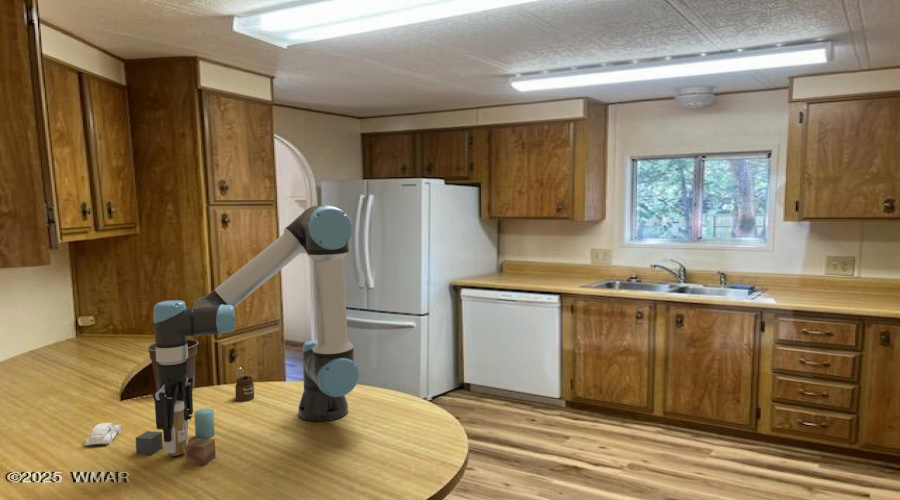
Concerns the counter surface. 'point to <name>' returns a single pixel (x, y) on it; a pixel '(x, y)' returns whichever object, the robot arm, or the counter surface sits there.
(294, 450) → the counter surface
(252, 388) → the utensil holder
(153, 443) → the black plastic cube
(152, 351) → the plant pot
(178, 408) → the sprinkles bottle
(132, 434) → the counter surface
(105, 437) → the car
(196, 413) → the teal cylinder
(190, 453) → the walnut block
